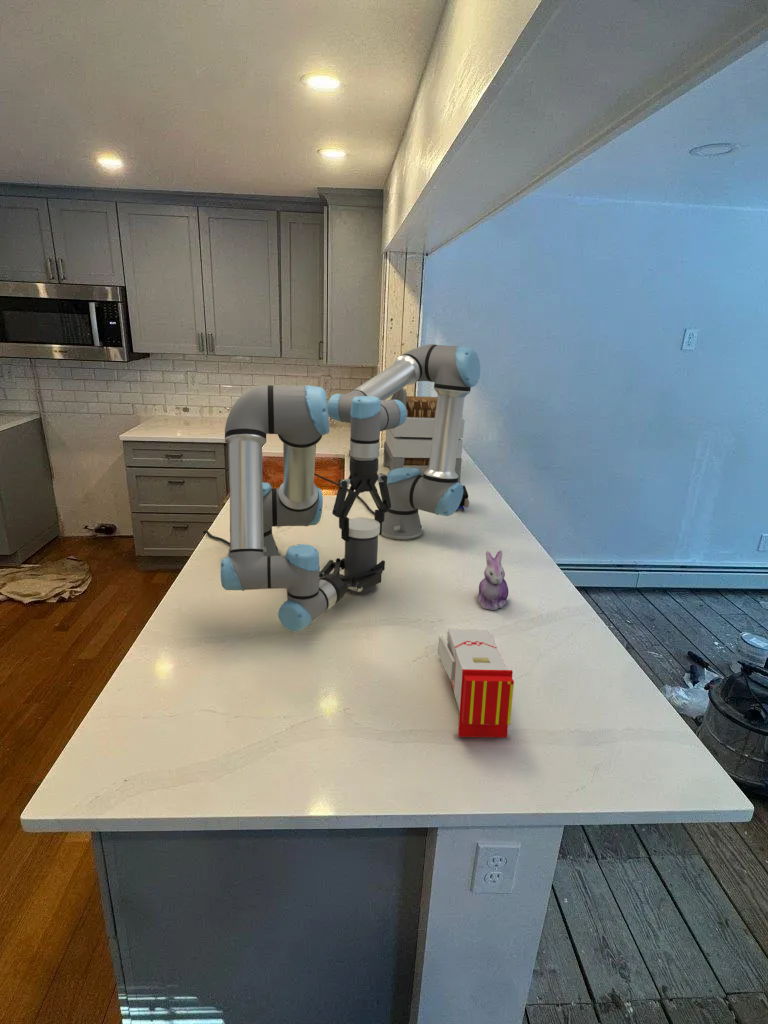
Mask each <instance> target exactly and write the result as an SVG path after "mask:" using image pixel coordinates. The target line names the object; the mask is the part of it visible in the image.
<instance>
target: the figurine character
mask: <svg viewBox="0 0 768 1024" xmlns="http://www.w3.org/2000/svg"><path fill="white" fill-rule="evenodd" d="M462 486H463V496H462V500H461V502H460V505H459V507H458V508H457V510H456V511H455V512H457V511H458V509H461V511H462V512H464V511H465V508H469V505H470V500H469V492H468V490H467V488H466V485H464V484H462Z"/></svg>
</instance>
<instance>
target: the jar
mask: <svg viewBox="0 0 768 1024" xmlns="http://www.w3.org/2000/svg"><path fill="white" fill-rule="evenodd" d="M378 549H379V535H377V536H375V537H372V538H354V537H350V536H349V541H347V542H346V541H344V558H345V568H344V570H343V571H344V574H343V575H344V576H349V575H352V574H353V575H359V574H362V573H366V572H370V571H372V568H373V567H375V566H376V565H377V564H378V551H379V550H378ZM351 581H352V579H351ZM376 589H377V585H375V586H373V587H371V588H369V589H366V590H364V591H363V592H362V593H361V594H357V591H354V590H351V591H350V592H347V593H348V594H351V595H355V596H366V595H370V594H373V593H374V592H375V591H376Z"/></svg>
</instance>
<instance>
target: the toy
mask: <svg viewBox="0 0 768 1024" xmlns="http://www.w3.org/2000/svg"><path fill="white" fill-rule="evenodd" d="M446 640H447V643H446V641H445V639H444V636H443V635H442V634H439V637H438V646H437V656H438V657H439V659H440V661H441V663H442V666H443V668H444V670H445V672H446V674H447V677H448V679H449V681H450V684H451V687H452V690H453V693H454V697H455V701H456V705H457V708H458V711H459V714H458V715H459V716H458V730H457V731H458V732H457V737H458V738H508V731H509V726H510V725H511V717H512V707H513V697H514V696H513V695H514V684H515V680H514V679H513V673H514V671H513V670H512V669H508V667H507V665H506V662H505V661H504V659H503V658H502V655H501V653H500V651H499V649H498V647H497V643H496V639H495V637H494V635H493V634H491V632H490V631H489V629H467V628H466V629H465V628H463V629H461V628H460V629H459V628H448V630H447V639H446Z"/></svg>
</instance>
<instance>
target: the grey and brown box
mask: <svg viewBox="0 0 768 1024" xmlns="http://www.w3.org/2000/svg"><path fill="white" fill-rule="evenodd" d="M407 394H408V393H407V390H406V389H404V387H403V388H402V389H400V390H399V391H397V392H396V393H395V394H393V395H392V396H391V398H390V399H391V400H399V401H401V402H402V403H403V404H404V405H405V407H406V410H407V417H406V420H405V422H404V423H403V424H402V425H400V426H398V427H396V428H394V429H388V430H385V438H384V442H383V466H384V467H388V468H389V471H391V470H394V469H398V468H405V466H406V467H407V466H411V467H412V466H413V467H415V466H416V467H417V466H418V467H429V462H430V454H431V445H432V437H433V429H434V421H435V413H436V405H437V397H438V396H415V395H414V396H413V395H412V396H411V395H407ZM464 429H465V419H464V418H462V420H461V428H460V435H459V442H458V450H457V457H456V464H455V472H456V474H457V475H458V483H461V472H462V461H463V460H462V453H463V442H464V441H463V440H462V439H463V438H464V431H465V430H464Z"/></svg>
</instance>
